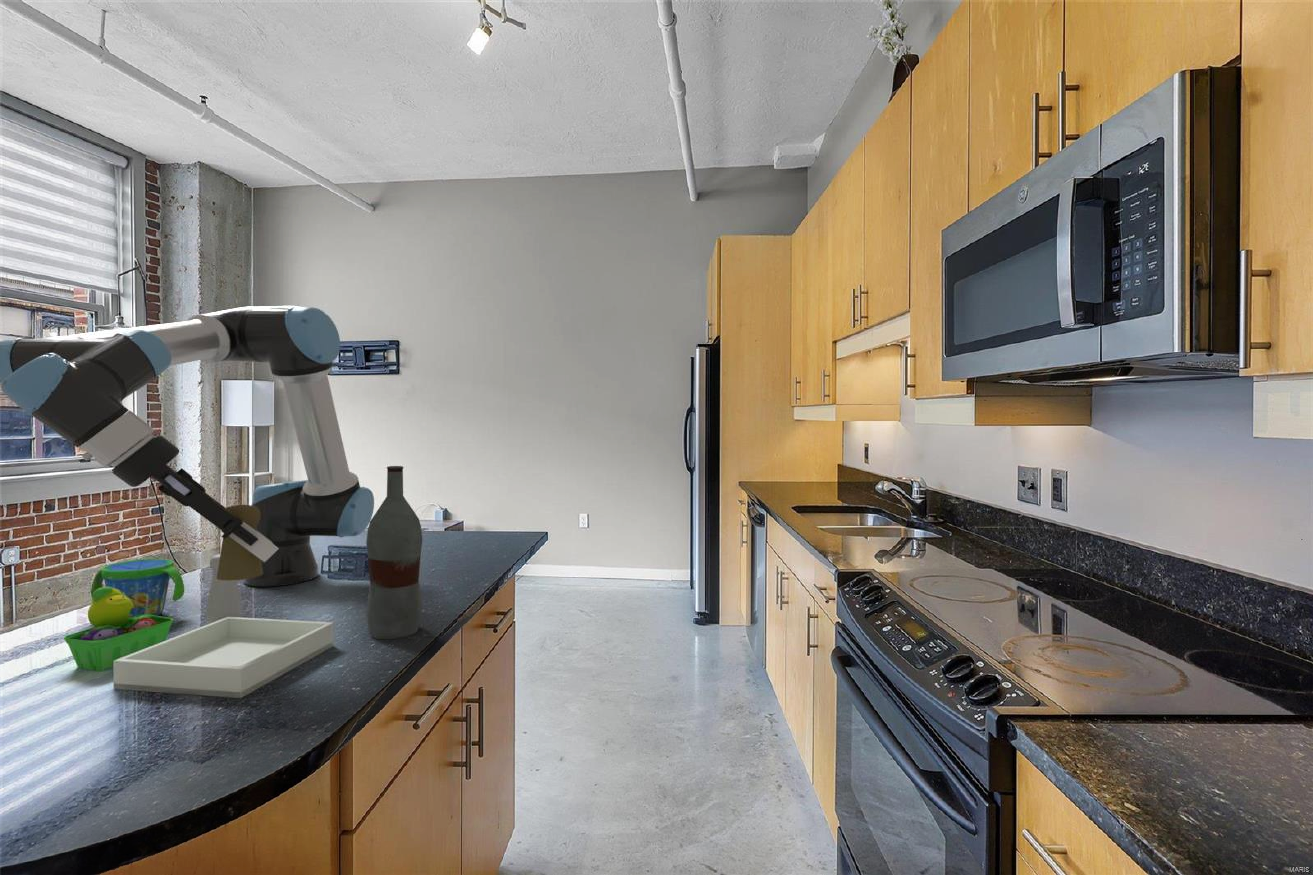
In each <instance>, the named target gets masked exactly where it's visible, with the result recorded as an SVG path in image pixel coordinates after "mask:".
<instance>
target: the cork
mask: <svg viewBox="0 0 1313 875" xmlns="http://www.w3.org/2000/svg"><path fill="white" fill-rule="evenodd" d="M225 509H226V510H227V511H228V512H230V513H231V514H232V515H234V516H235V517H238V518H239V519H241V520H242V522H245V523H246V524H247V525H249V526H250V527H251V528H253V529H254V530H255V531H257V528H256V525H257V524H258V522H259V520H260V511H259V509H258V508H257V507H255V506H252V504H251V505H250V504H236V505H235V504H234V505H231V506H228V507H225ZM219 554H220V560H219V566H218V572H217V579H218V580H237V581H240V580H243V581H244V579H249V578H254V577H258V576H261V575H262V574H263V568H262V562H261V559H259V558H258V557H257V556H255V555H254V554H253V553H251V552H250V551H249V550H247V549H246V548H244V547H243V546H242V545H240V544H239V543H238V542H236V541H235V540H234V539H232V538H231V537H229V536H228V537H227V538H226V539H224V538H222V542H221V548H220V553H219Z"/></svg>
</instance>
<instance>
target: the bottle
mask: <svg viewBox="0 0 1313 875" xmlns="http://www.w3.org/2000/svg"><path fill="white" fill-rule="evenodd" d="M386 469H387V471H386V472H387V475H386V477H387V478H386V497H385V498H384V500H383V502H381V505H380V506H379V507H378V509H377V510H376V512H375V514H373V515H372V517H371V520H370V523H369V525H368V526H367V534H366V541H365V542H366V551H367V552H366V553H367V560H368V564H367V565H368V573H369V576H368V577H369V589H368V595H367V604H366V610H365V615H366V624H367V630H368V632H369V635H370V637H372V638H374V639H377V640H395V639H401V638H406V637H408V636H409V637H410V636H412V635H414V634H415V633H417V632H418V630H419V627H420V625H421V624H420V623H421V620H422V611H423V601H422V593H421V592H422V591H421V587H420V581H419V580H420V569H421V556H422V547H423V533H422V525H421V521H420V518H419V517H418V515H417V513H416V512H415V510H414V509H413V508H412V507H411V505H410V503H409V502H408V500H407V499H406V497H405V495H404V472H403V470H404V466H402V465H389V466H387V467H386Z"/></svg>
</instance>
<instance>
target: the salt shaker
mask: <svg viewBox="0 0 1313 875" xmlns="http://www.w3.org/2000/svg"><path fill="white" fill-rule="evenodd" d="M220 554H221V553H218V554H215V555H213V556H212V557H210V560H209V568H210V569H213V571H212V572H213V573H212V577H211V582H210V588H209V593H208V597H207V602H206V608H205V613H204V617H205V619H206V621H207V624H210V623H213V622H215V621H218V620H221V619H223V618H226V617H242V614H243V612H244V606H243V603H242V602H243V601H242V597H241V593H240V589H239V584H238V580H218V579H217V572H218V566H219V560H220Z"/></svg>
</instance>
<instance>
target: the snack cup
mask: <svg viewBox="0 0 1313 875" xmlns="http://www.w3.org/2000/svg"><path fill="white" fill-rule="evenodd" d="M170 579H171V580H172V582H173V583H174V590H173V594H172V595H173V596H172V598H171V599H172V601H175V602H177V601H178V600H180V599H182V598H183V597H184V594H185V585H184V580H183V577H182V575H181V573H180V571H179V569H177V568H176V567H174V561H173V560H172V559H168V558H146V559H145V558H143V559H134V560H126V561H120V562H115V563H111V564H107V565H104V566H103V567H102V568H101V569H100V570H98V571H97V572H96V574H95V575H94V578H93V580H92V584H91V589H90V597H92V595H93V593H94V591H95V590H97V589H98V588H102V587H112V588H115V589H118V590H119V591H120V592H121V593H122V594H123V595H125V596H127V597H128V598H129V599H130V600H131V601H132V602H133V605H134V608H133V609H131V611H130V614H129V618H130V617H134V616H138V615H154V616H160V615H162V613H163V612H164V609H165V605H166V600H167V595H168V594H167V593H168V589H169V584H170ZM103 582H104V584H105V585H104V584H103Z"/></svg>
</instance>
